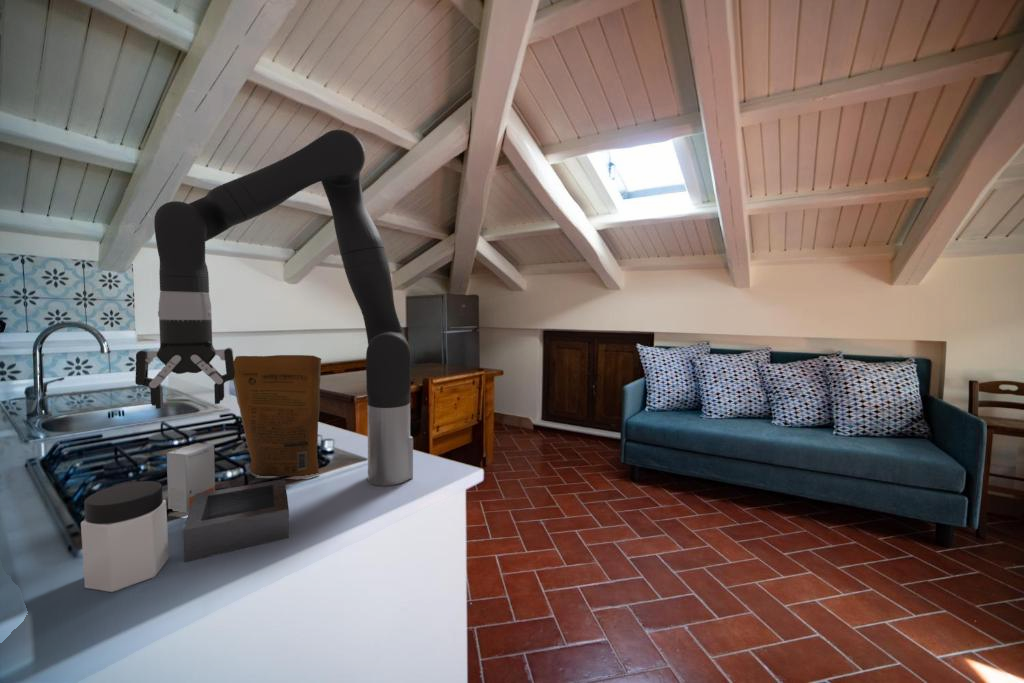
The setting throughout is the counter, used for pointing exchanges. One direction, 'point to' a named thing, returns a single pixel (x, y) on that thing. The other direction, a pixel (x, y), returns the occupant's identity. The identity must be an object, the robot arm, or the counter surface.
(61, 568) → the counter surface
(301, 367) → the pancake mix bag
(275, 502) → the socket block
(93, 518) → the jar
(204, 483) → the skincare box
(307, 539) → the counter surface
